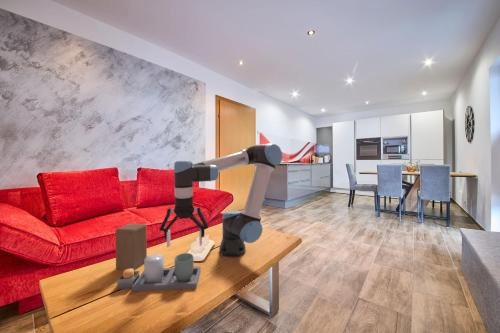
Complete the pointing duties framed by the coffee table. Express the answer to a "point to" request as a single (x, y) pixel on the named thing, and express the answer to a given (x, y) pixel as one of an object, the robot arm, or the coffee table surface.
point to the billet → (154, 269)
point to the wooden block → (131, 246)
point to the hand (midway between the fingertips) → (184, 245)
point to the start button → (128, 273)
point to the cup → (184, 267)
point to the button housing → (127, 281)
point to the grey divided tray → (168, 281)
